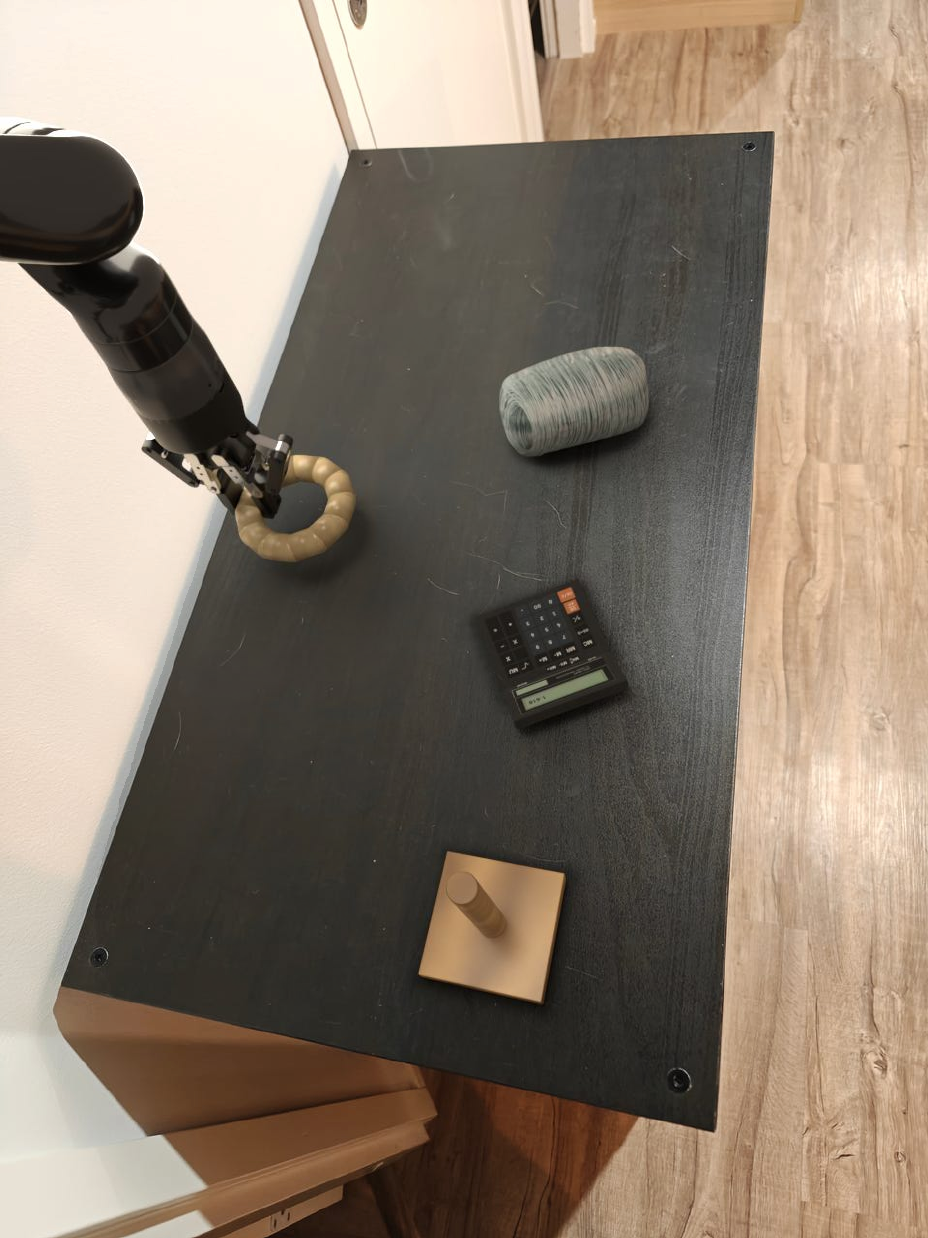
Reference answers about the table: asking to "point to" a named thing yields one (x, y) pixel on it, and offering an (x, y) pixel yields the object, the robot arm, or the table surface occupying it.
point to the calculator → (550, 654)
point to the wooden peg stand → (494, 927)
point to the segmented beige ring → (317, 534)
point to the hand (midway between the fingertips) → (257, 508)
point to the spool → (574, 400)
